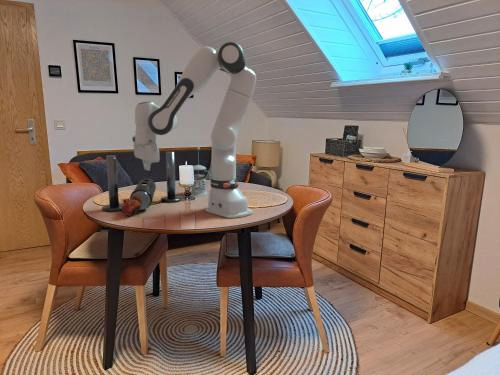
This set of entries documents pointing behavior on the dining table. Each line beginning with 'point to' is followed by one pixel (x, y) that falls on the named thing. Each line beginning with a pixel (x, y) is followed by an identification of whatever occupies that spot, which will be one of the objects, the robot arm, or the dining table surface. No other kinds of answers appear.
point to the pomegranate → (131, 207)
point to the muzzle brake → (144, 193)
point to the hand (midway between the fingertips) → (147, 169)
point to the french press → (199, 189)
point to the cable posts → (113, 183)
